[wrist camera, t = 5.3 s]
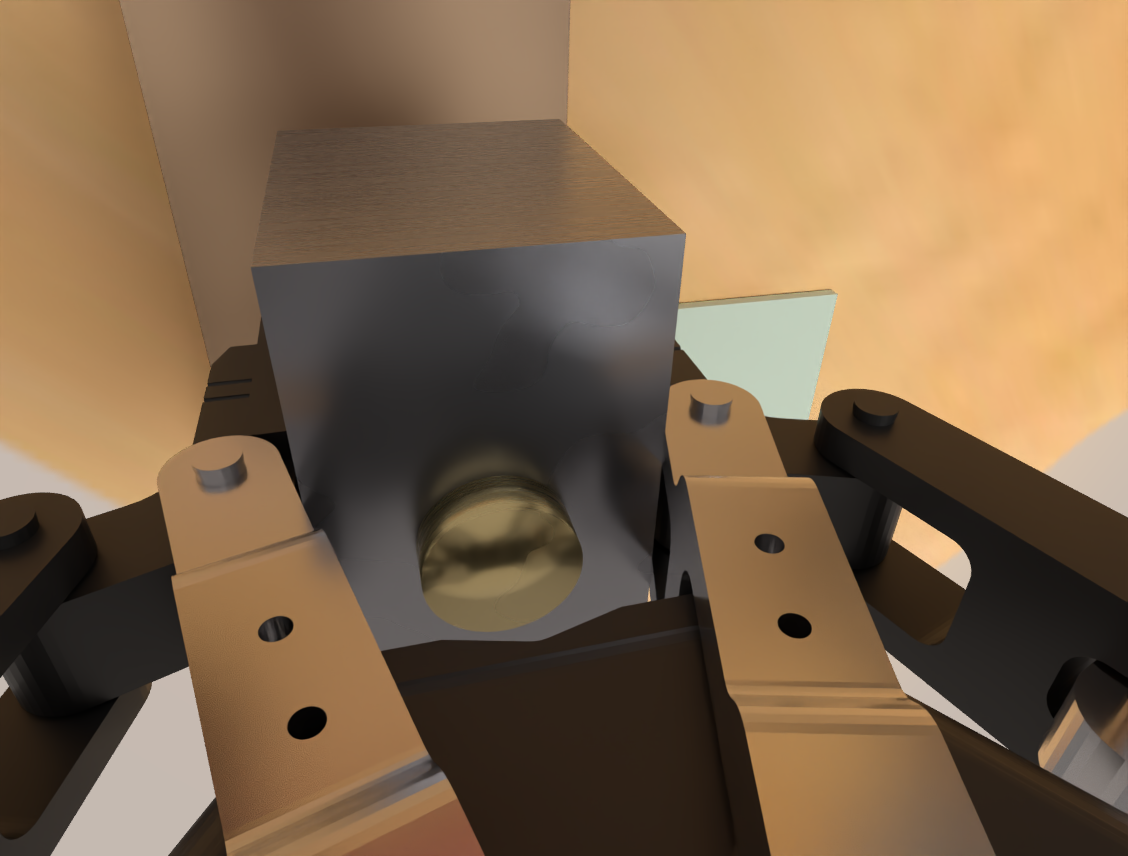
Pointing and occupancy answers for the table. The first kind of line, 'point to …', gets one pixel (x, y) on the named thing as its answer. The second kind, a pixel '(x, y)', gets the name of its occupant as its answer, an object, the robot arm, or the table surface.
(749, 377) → the mat
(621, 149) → the table surface
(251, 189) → the body
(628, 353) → the block with brass knob
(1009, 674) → the robot arm
